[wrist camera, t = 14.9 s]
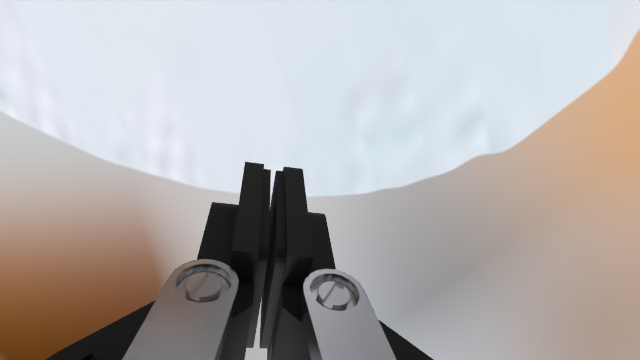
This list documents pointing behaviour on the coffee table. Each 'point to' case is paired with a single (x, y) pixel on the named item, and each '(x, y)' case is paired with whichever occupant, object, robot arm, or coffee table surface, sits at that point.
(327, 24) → the coffee table surface
